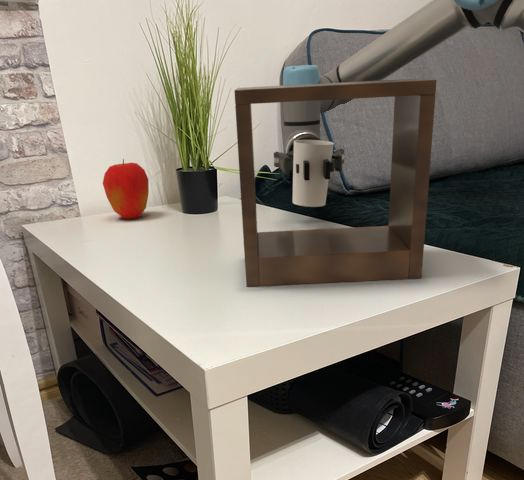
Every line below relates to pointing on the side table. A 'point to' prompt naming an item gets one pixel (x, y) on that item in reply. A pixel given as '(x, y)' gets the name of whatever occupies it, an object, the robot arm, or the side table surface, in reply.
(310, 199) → the drinking glass
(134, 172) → the apple
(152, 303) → the side table surface
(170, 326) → the side table surface
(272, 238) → the shelf unit
